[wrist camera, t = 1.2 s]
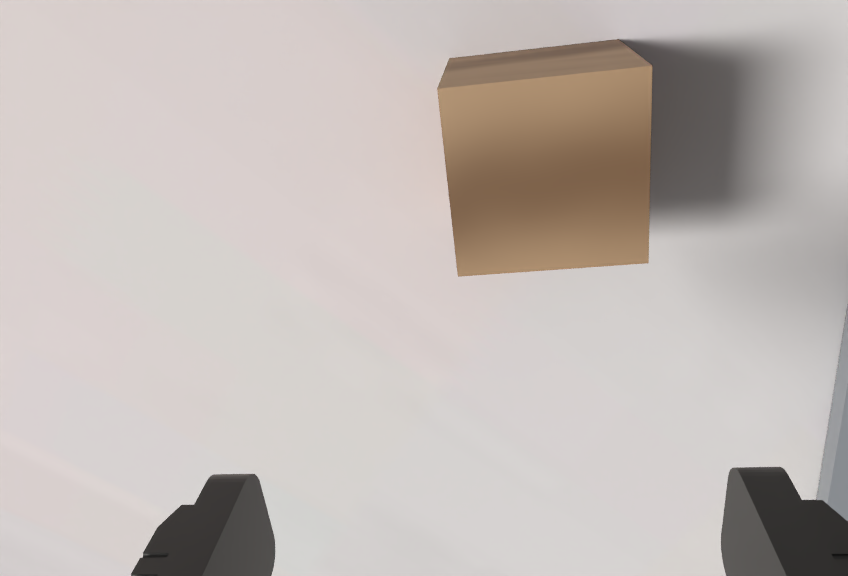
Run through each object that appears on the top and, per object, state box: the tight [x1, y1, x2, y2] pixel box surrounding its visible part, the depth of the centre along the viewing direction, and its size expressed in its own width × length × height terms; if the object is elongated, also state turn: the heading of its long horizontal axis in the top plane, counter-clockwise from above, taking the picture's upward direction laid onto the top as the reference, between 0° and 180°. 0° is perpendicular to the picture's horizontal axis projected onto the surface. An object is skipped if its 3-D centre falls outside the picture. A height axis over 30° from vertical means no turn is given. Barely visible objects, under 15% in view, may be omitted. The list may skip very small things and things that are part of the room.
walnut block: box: [437, 39, 652, 276], centre depth 24 cm, size 6×6×6 cm
